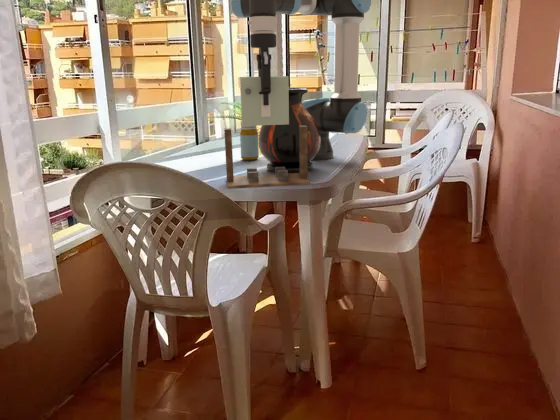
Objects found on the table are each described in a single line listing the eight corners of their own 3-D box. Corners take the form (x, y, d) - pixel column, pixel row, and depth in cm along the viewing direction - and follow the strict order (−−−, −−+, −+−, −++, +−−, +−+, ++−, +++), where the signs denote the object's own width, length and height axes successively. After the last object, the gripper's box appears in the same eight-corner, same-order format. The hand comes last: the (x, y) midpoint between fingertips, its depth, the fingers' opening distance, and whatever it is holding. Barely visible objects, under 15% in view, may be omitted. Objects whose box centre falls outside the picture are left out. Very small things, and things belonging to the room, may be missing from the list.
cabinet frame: (303, 177, 162) (302, 123, 157) (310, 186, 150) (310, 128, 145) (226, 181, 159) (223, 126, 154) (228, 190, 147) (225, 131, 142)
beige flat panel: (287, 123, 151) (286, 76, 148) (289, 124, 147) (288, 76, 144) (241, 124, 150) (240, 77, 146) (242, 126, 146) (240, 77, 142)
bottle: (239, 160, 194) (238, 121, 190) (243, 157, 201) (241, 119, 197) (257, 160, 193) (255, 121, 189) (260, 157, 200) (258, 119, 196)
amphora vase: (266, 163, 186) (264, 87, 178) (323, 164, 183) (323, 86, 175) (253, 176, 166) (250, 90, 158) (317, 177, 162) (317, 89, 154)
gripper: (248, 35, 149) (250, 114, 156) (252, 31, 134) (255, 119, 140) (272, 35, 150) (274, 113, 157) (279, 31, 135) (281, 118, 141)
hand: (265, 115), depth 148 cm, fingers closed on beige flat panel, 3 cm apart
